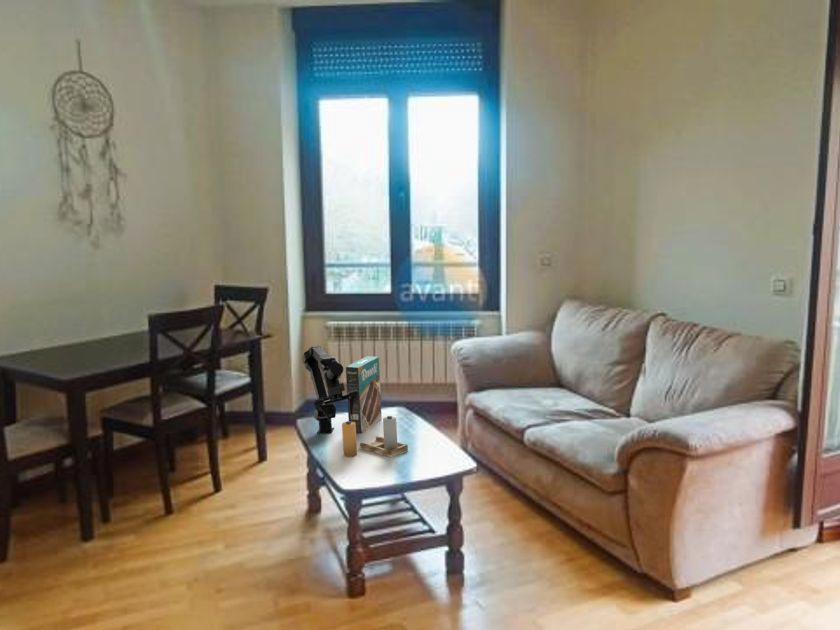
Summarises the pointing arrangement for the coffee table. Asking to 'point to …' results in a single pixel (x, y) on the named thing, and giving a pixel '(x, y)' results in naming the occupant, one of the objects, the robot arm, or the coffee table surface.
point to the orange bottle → (349, 439)
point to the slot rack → (378, 447)
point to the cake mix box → (365, 392)
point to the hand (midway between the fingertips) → (341, 419)
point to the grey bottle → (390, 432)
